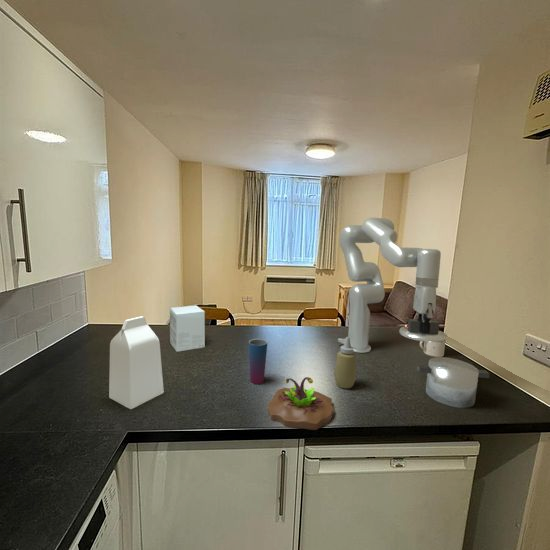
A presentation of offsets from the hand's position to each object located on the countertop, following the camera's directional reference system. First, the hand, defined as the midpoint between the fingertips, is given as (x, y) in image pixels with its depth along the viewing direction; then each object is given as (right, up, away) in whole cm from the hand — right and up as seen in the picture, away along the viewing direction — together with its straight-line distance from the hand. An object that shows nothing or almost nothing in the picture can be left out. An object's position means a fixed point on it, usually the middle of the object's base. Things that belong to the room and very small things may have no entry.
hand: (422, 330), depth 116 cm
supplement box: (-97, -13, +31) cm, 103 cm away
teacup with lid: (+18, -17, +31) cm, 40 cm away
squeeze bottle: (-30, -20, -3) cm, 36 cm away
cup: (-62, -18, -2) cm, 65 cm away
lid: (0, -2, 0) cm, 2 cm away
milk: (-101, -19, -14) cm, 104 cm away
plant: (-47, -22, -19) cm, 55 cm away
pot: (+6, -21, -8) cm, 23 cm away
